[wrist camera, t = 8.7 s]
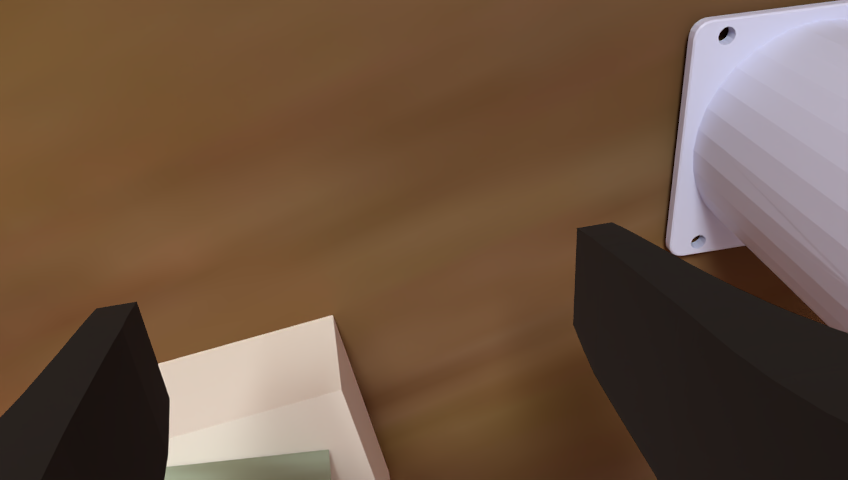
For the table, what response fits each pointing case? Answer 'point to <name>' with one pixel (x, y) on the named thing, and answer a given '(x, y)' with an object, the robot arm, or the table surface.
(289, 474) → the green cube
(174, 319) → the table surface
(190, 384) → the cream base block
